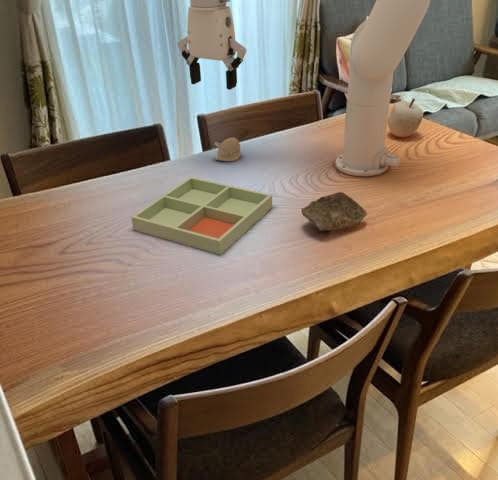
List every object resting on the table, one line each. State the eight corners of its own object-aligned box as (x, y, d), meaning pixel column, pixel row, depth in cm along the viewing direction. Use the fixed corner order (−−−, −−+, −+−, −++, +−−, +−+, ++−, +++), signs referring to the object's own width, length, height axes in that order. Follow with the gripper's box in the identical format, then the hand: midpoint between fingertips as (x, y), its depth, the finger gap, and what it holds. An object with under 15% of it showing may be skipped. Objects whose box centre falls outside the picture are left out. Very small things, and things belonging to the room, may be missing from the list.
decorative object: (380, 132, 148) (385, 94, 141) (409, 128, 149) (415, 91, 143) (394, 144, 141) (400, 105, 135) (425, 140, 142) (432, 101, 136)
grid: (272, 207, 116) (272, 194, 114) (220, 254, 102) (219, 241, 100) (191, 188, 124) (190, 176, 122) (133, 229, 110) (131, 216, 109)
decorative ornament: (245, 156, 138) (245, 136, 134) (219, 166, 134) (218, 144, 130) (236, 152, 140) (235, 131, 137) (210, 161, 136) (208, 140, 133)
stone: (328, 238, 102) (312, 198, 101) (305, 247, 109) (290, 210, 108) (374, 218, 107) (359, 180, 107) (349, 228, 114) (335, 192, 114)
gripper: (252, -2, 111) (254, 85, 122) (184, -6, 118) (192, 76, 129) (233, 5, 107) (237, 95, 117) (163, 0, 113) (173, 85, 124)
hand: (213, 85), depth 123 cm, fingers open, 9 cm apart
